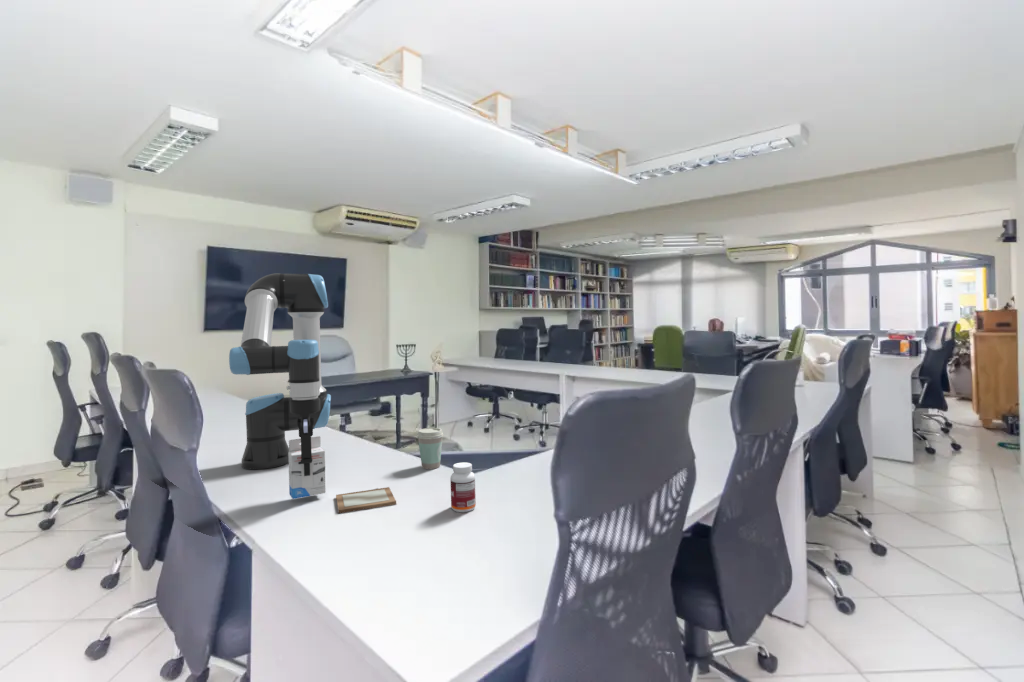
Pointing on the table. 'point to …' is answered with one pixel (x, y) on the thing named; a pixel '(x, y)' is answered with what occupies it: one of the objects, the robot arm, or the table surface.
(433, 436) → the coffee cup
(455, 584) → the table surface
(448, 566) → the table surface
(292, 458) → the ink box
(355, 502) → the board
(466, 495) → the pill bottle
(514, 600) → the table surface
